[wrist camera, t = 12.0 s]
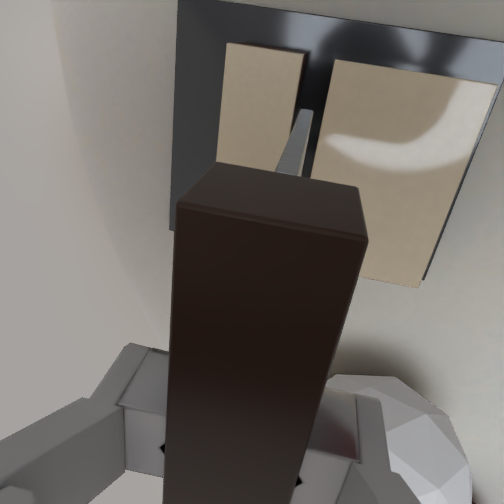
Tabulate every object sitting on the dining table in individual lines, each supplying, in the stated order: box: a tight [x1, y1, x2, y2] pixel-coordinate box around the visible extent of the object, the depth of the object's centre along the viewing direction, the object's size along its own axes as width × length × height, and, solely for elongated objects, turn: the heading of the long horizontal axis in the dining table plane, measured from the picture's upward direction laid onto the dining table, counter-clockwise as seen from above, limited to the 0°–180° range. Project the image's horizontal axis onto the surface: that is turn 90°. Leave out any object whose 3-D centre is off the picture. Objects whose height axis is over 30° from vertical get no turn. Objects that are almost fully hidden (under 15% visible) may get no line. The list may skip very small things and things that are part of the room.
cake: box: [169, 0, 504, 288], centre depth 26 cm, size 16×20×6 cm
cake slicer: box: [162, 109, 369, 504], centre depth 11 cm, size 10×2×9 cm, turn 173°
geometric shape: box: [325, 374, 473, 504], centre depth 32 cm, size 14×15×15 cm
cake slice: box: [216, 42, 308, 172], centre depth 26 cm, size 12×4×5 cm, turn 172°
